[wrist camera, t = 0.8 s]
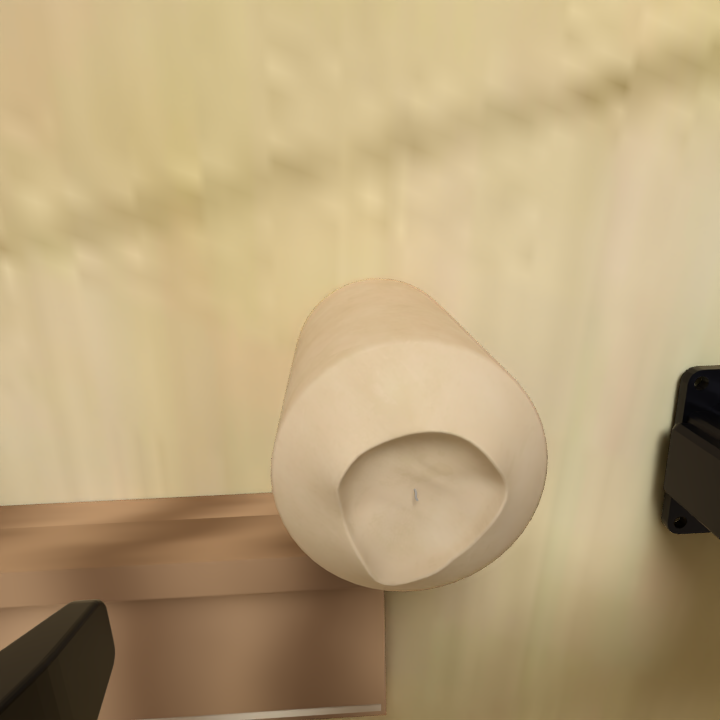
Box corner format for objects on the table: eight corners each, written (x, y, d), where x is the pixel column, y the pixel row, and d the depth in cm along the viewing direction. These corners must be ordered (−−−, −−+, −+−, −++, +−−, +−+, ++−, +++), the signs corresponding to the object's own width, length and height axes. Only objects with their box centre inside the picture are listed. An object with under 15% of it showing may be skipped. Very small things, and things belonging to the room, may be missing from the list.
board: (379, 487, 21) (389, 551, 17) (382, 682, 23) (392, 775, 19) (-69, 509, 20) (-161, 581, 16) (-15, 707, 23) (-84, 809, 19)
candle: (401, 456, 20) (465, 687, 11) (266, 384, 19) (204, 569, 10) (486, 328, 19) (643, 460, 10) (348, 244, 18) (368, 298, 9)
